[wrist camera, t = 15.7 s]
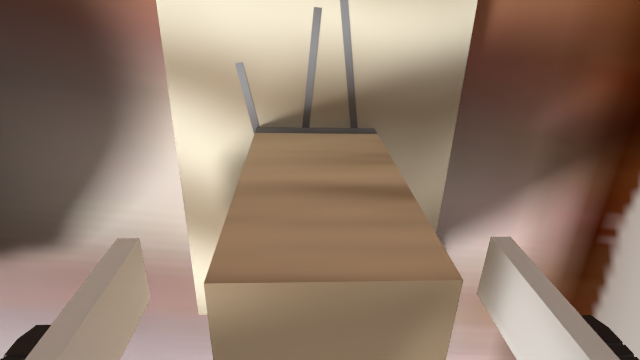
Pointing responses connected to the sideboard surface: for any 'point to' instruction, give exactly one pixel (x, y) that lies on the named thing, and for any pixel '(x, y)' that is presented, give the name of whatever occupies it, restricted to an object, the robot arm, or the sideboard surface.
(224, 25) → the board
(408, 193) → the block
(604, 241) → the sideboard surface
